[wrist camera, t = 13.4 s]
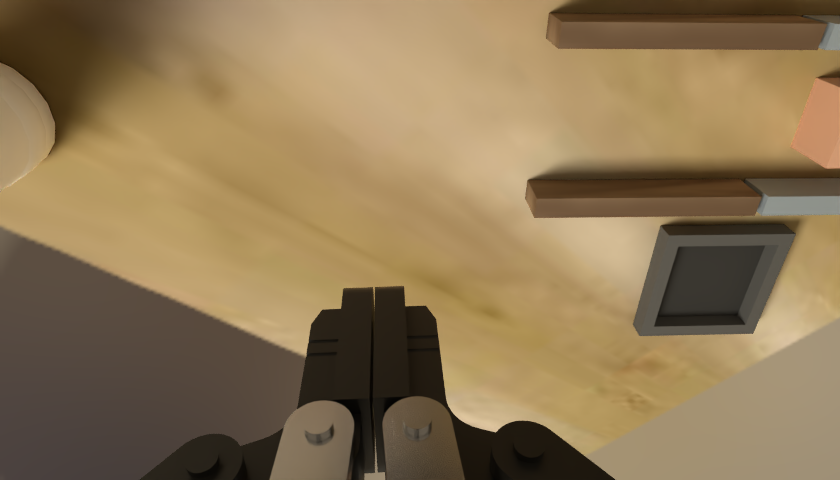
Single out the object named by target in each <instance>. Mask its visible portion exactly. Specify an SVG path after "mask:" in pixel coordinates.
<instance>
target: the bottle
mask: <svg viewBox="0 0 840 480" xmlns="http://www.w3.org/2000/svg"><path fill="white" fill-rule="evenodd" d="M54 143H55V122H54V119H53V117H52V114H51V111H50V109H49V106H48V103H47V102H46V101H45V99H44V98H43V97H42V95H41V94H40V93H39V92H38V90H37V89H36V88H35V86H34V85H33V84H32V83H31V82H30V81H28V80H27V79H26V78H24V77H23V76H22V75H21V74H19V73H18V72H17V71H16V70H14V69H13V68H11V67H9V66H7V65H5V64H2V63H0V192H1V191H2V190H3V189H5V188H6V187H7V186H10V185H12V184H13V183H15V182H16V181H18V180H19V179H21V178H22V177H23V176H25V175H26V174H28V173H29V172H31V171H32V170H33V169H34V168H36V167H37V166H38V164H39V163H40V162H41V161H42V160H44V159H45V158H46V157H47V156H48V154H49V152H50V150H51V148H52V147H53V145H54Z"/></svg>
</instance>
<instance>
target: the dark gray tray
mask: <svg viewBox="0 0 840 480" xmlns="http://www.w3.org/2000/svg"><path fill="white" fill-rule="evenodd" d="M795 235H796V234H795V233H794V232H793V231H792V230H790V229H789V228H788V227H787V226H786V225H784V224H766V225H677V226H660V230H659V233H658V237H657V241H656V244H655V248H654V251H653V255H652V258H651V262H650V266H649V269H648V273H647V276H646V280H645V283H644V287H643V291H642V294H641V298H640V301H639V305H638V308H637V312H636V316H635V319H634V323H633V325H634V327H635V329H636V331H637V332H638V334H639V336H663V335H710V334H753V333H754V330H755V328H756V326H757V323H758V321H759V319H760V316H761V314H762V312H763V309H764V307H765V305H766V302H767V300H768V298H769V295H770V293H771V291H772V288H773V286H774V284H775V281H776V279H777V277H778V275H779V272H780V270H781V268H782V265H783V263H784V261H785V258H786V256H787V254H788V251H789V249H790V247H791V244H792V242H793V240H794V237H795Z"/></svg>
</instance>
